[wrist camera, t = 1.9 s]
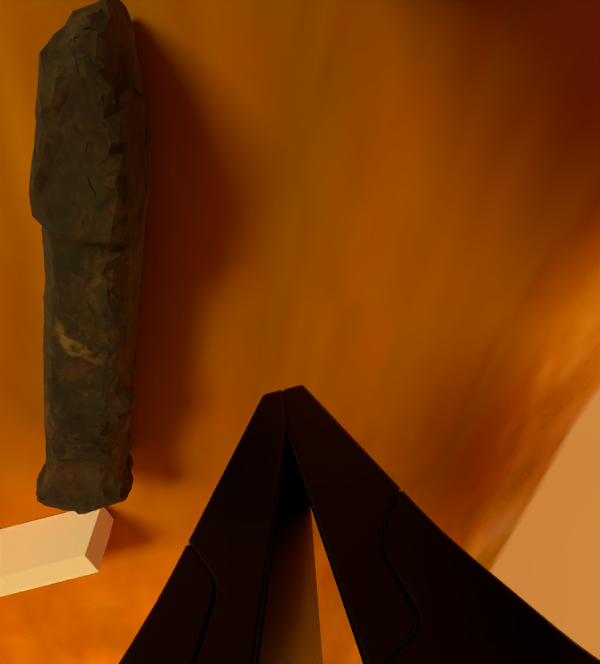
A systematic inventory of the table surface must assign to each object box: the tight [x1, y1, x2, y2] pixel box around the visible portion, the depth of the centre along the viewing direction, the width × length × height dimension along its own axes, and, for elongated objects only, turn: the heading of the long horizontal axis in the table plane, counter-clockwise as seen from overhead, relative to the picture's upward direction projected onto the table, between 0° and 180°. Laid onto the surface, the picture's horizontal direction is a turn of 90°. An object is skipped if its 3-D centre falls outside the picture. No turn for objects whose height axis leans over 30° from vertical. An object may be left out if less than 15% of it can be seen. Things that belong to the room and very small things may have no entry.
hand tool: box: [29, 0, 151, 514], centre depth 15 cm, size 19×4×5 cm, turn 162°
